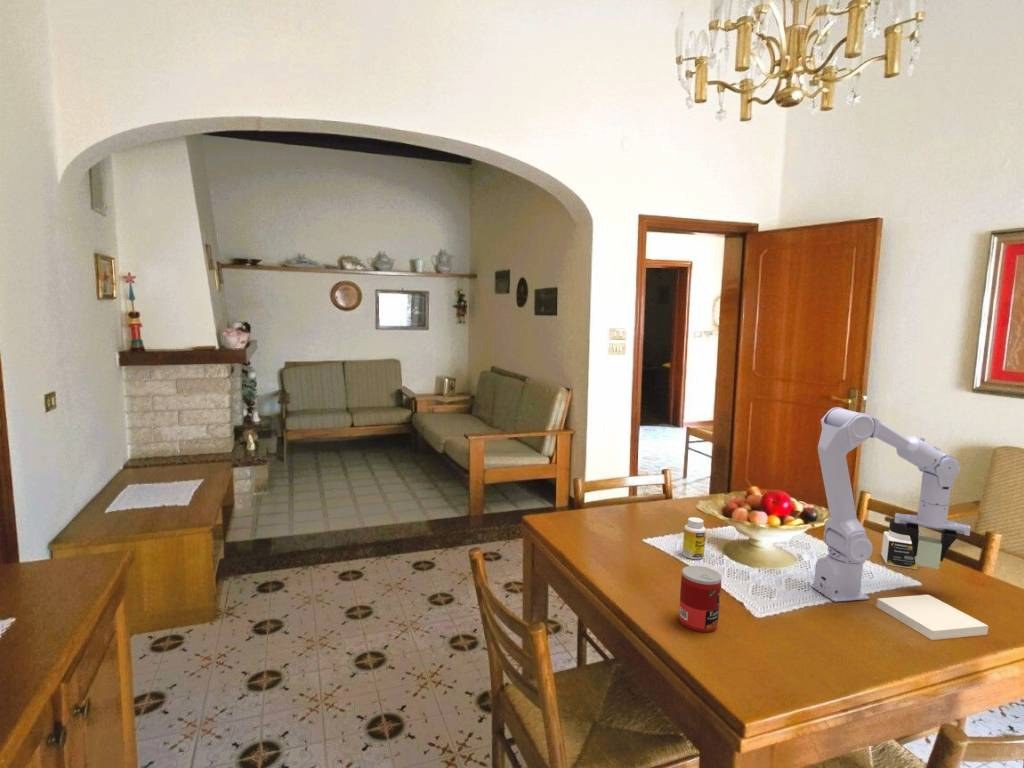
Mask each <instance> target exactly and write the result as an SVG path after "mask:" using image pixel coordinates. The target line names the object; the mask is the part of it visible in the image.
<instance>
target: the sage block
mask: <svg viewBox="0 0 1024 768" xmlns="http://www.w3.org/2000/svg"><path fill="white" fill-rule="evenodd" d="M941 549H942V543H941V538H936V537H931V536H924V535H920V534H919V535H918V541H917V555H916V556H915V563H916V565H918V566H922V567H924V568H930V569H934V570H940V564H941V561H940V557H941Z"/></svg>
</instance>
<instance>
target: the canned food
mask: <svg viewBox="0 0 1024 768" xmlns="http://www.w3.org/2000/svg"><path fill="white" fill-rule="evenodd" d="M680 579H681V580H680V593H679V594H680V595H679V606H678V607H679V608H678V609H679V610H678V618H679V621H680V623H681V624H682V625H683V626H684V627H686V628H687V629H690V630H692V631H695V632H698V633H699V632H700V633H711V632H713V631H715V630H716V629H717V627H718V625H719V615H720V603H721V594H722V593H721V591H722V575H721V574H720V573H719V572H718V571H716V570H714V569H712V568H709V567H706V566H701V565H687V566H684V567H683V568H682V569H681V578H680Z"/></svg>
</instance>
